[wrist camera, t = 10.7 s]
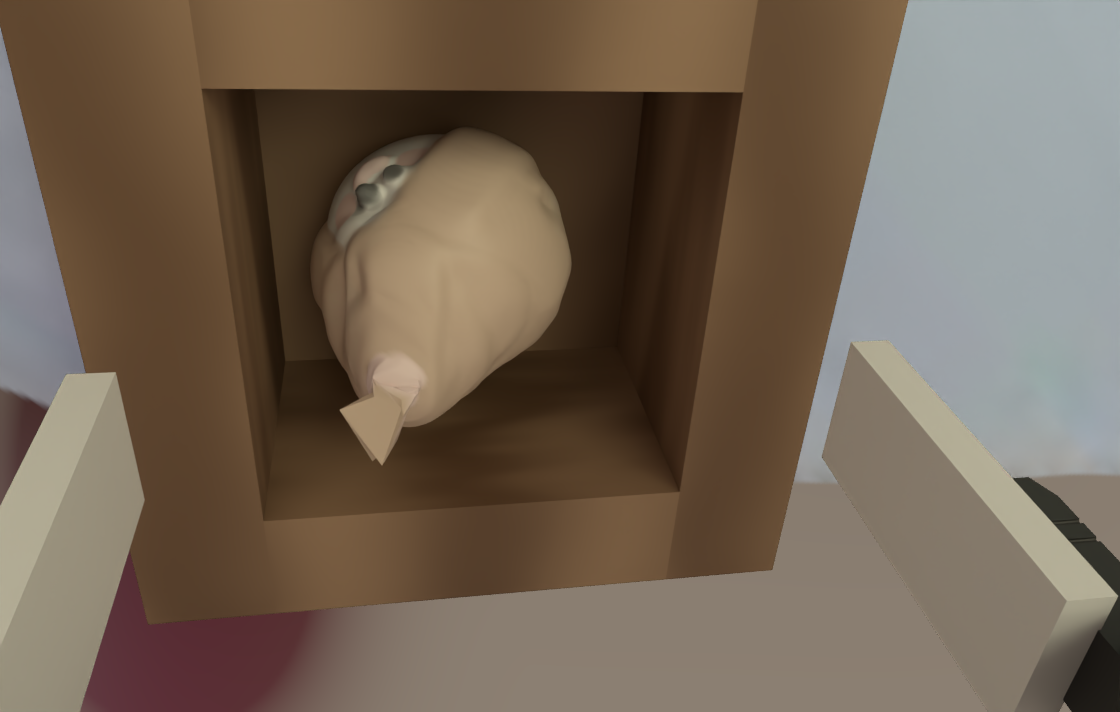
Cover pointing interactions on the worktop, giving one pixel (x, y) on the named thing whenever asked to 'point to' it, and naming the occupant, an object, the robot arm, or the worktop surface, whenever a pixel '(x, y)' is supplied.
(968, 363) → the worktop surface
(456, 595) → the walnut well
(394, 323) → the garlic bulb
